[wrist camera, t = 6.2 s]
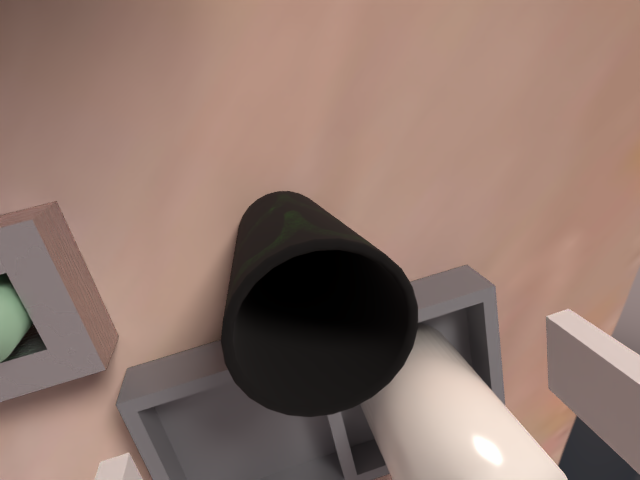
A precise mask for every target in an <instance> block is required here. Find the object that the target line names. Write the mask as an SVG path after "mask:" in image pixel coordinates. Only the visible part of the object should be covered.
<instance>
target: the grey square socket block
mask: <svg viewBox="0 0 640 480" xmlns="http://www.w3.org/2000/svg"><path fill="white" fill-rule="evenodd" d="M4 273H7V275H8V277H9V279H10V281H11V283H12V285H13V286H14V288H15V290H16V292H17V294H18V296H19V298H20V299H21V301H22V303H23V305H24V307H25V309H26V311H27V312H28V314H29V316H30V318H31V320H32V322H33V324H34V325H35V327H32V328H30V329H29V330H28V331H27V332H26V334H25V335H24V336H23V338H22V339H21V340H20V342H19V343H18V344H17V346H16V347H15V348H14V350H13V351H12V352H11V354H10V355H9V356H8V357H7V358H6V359H5V360H4V361H2V362H0V402H2V401H5V400H9V399H12V398H15V397H18V396H22V395H25V394H28V393H32V392H35V391H38V390H41V389H45V388H48V387H51V386H55V385H58V384H61V383H64V382H68V381H71V380H74V379H78V378H81V377H84V376H87V375H91V374H94V373H97V372H101V371H104V370H106V368H107V366H108V363H109V360H110V358H111V355H112V353H113V350H114V347H115V345H116V342H117V340H118V337H119V336H118V334H117V332H116V329H115V327H114V325H113V323H112V321H111V319H110V316H109V314H108V312H107V310H106V308H105V306H104V303H103V301H102V299H101V297H100V295H99V292H98V290H97V288H96V286H95V284H94V282H93V279H92V277H91V275H90V273H89V271H88V269H87V266H86V264H85V262H84V260H83V258H82V256H81V253H80V251H79V249H78V247H77V245H76V242H75V240H74V238H73V236H72V234H71V232H70V229H69V227H68V225H67V223H66V221H65V219H64V216H63V214H62V212H61V210H60V208H59V206H58V203H57V201H55V202H51V203H47V204H43V205H39V206H35V207H31V208H28V209H24V210H20V211H16V212H12V213H8V214H4V215H1V216H0V274H4Z"/></svg>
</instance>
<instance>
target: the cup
mask: <svg viewBox="0 0 640 480" xmlns="http://www.w3.org/2000/svg"><path fill="white" fill-rule="evenodd" d="M417 330H418V304H417V300H416V297H415V293H414V290H413V286H412V285H411V283H410V282H409V280H408V278H407V277H406V275H405V274H404V272H403V270H402V269H401V268H400V267H399V266H398V265H397V264H396V263H395V262H393V261H392V260H391V259H390V258H389V257H388V256H387V255H386V254H384V253H383V252H382V251H380V250H379V249H377V248H376V247H375V246H373V245H372V244H371V243H369V242H368V241H367V240H365V239H364V238H362V237H361V236H360V235H358V234H357V233H356V232H354V231H353V230H351V229H350V228H349V227H347V226H346V225H345V224H343V223H342V222H341V221H339V220H338V219H336V218H335V217H334V216H332V215H331V214H330V213H328V212H327V211H326V210H324V209H323V208H321V207H320V206H319V205H317V204H316V203H315V202H313V201H312V200H311V199H309V198H307V197H305V196H303V195H301V194H299V193H294V192H290V191H278V192H274V193H270V194H267V195H265V196H263V197H261V198H259V199H257V200H256V201H255V202H254V203H253V204H252V205H251V206H249V208H248V209H247V211H246V212H245V213H244V215H243V217H242V219H241V222H240V225H239V229H238V235H237V241H236V247H235V253H234V259H233V265H232V271H231V276H230V282H229V288H228V294H227V300H226V306H225V312H224V317H223V326H222V336H221V346H222V351H223V356H224V362H225V365H226V367H227V369H228V371H229V373H230V375H231V377H232V379H233V380H234V382H235V384H236V385H237V386H238V387H239V388H240V389H241V390H242V391H243V392H244V393H245V394H246V395H247V396H248V397H249V398H250V399H252V400H253V401H255V402H257V403H258V404H260V405H262V406H263V407H265V408H267V409H269V410H272V411H276V412H279V413H282V414H285V415H290V416H302V417H315V416H324V415H332V414H335V413H338V412H341V411H344V410H348V409H351V408H353V407H355V406H357V405H359V404H361V403H363V402H364V401H366V400H368V399H370V398H372V397H373V396H375V395H376V394H377V393H378V392H379V391H381V390H382V389H383V388H384V387H385V386H387V385H388V384H389V383H390V382H391V381H392V380H393V378H394V377H395V376H396V375H397V373H398V372H399V371H400V370H401V368H402V367H403V366H404V364H405V362H406V360H407V358H408V356H409V354H410V352H411V350H412V348H413V346H414V342H415V338H416V334H417Z"/></svg>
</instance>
